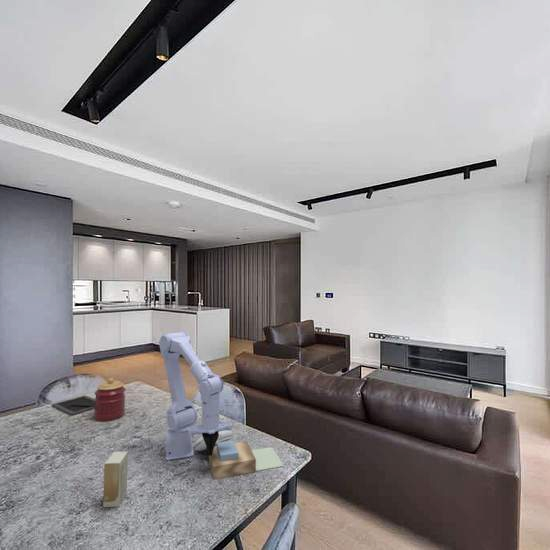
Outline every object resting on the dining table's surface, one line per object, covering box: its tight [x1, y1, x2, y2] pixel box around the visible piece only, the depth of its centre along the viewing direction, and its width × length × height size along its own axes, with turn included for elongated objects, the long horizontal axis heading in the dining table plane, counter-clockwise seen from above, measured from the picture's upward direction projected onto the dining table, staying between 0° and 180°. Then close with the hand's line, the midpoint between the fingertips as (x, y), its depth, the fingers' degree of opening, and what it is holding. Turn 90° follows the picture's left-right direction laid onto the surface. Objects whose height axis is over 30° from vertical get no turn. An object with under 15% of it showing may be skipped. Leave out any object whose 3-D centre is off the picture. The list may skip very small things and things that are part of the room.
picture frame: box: [51, 395, 95, 417], centre depth 159 cm, size 16×2×21 cm
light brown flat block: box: [208, 440, 257, 480], centre depth 108 cm, size 14×13×4 cm
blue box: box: [217, 439, 239, 462], centre depth 108 cm, size 6×9×2 cm, turn 19°
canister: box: [93, 377, 126, 422], centre depth 148 cm, size 13×13×18 cm
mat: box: [251, 446, 285, 472], centre depth 112 cm, size 10×13×1 cm
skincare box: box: [102, 451, 129, 508], centre depth 90 cm, size 6×4×12 cm
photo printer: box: [194, 430, 234, 452], centre depth 117 cm, size 10×4×12 cm
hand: (209, 454), depth 106 cm, fingers closed
